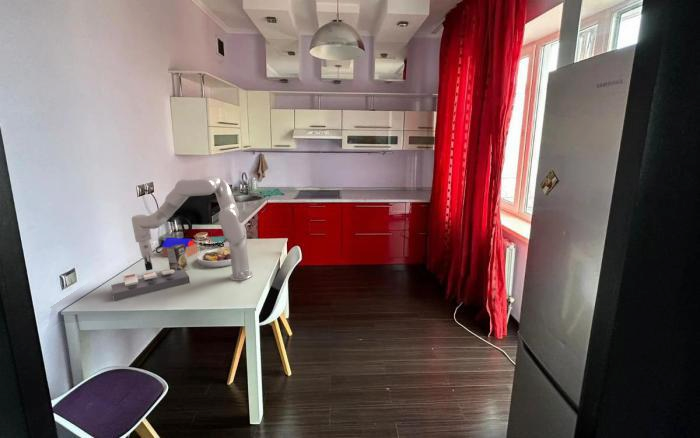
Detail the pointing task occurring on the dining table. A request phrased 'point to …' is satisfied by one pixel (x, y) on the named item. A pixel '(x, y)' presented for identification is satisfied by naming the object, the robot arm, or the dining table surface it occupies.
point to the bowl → (215, 257)
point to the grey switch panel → (150, 285)
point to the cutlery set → (217, 239)
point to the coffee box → (177, 257)
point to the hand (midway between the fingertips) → (149, 269)
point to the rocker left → (130, 280)
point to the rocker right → (167, 272)
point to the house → (189, 243)
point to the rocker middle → (149, 275)
